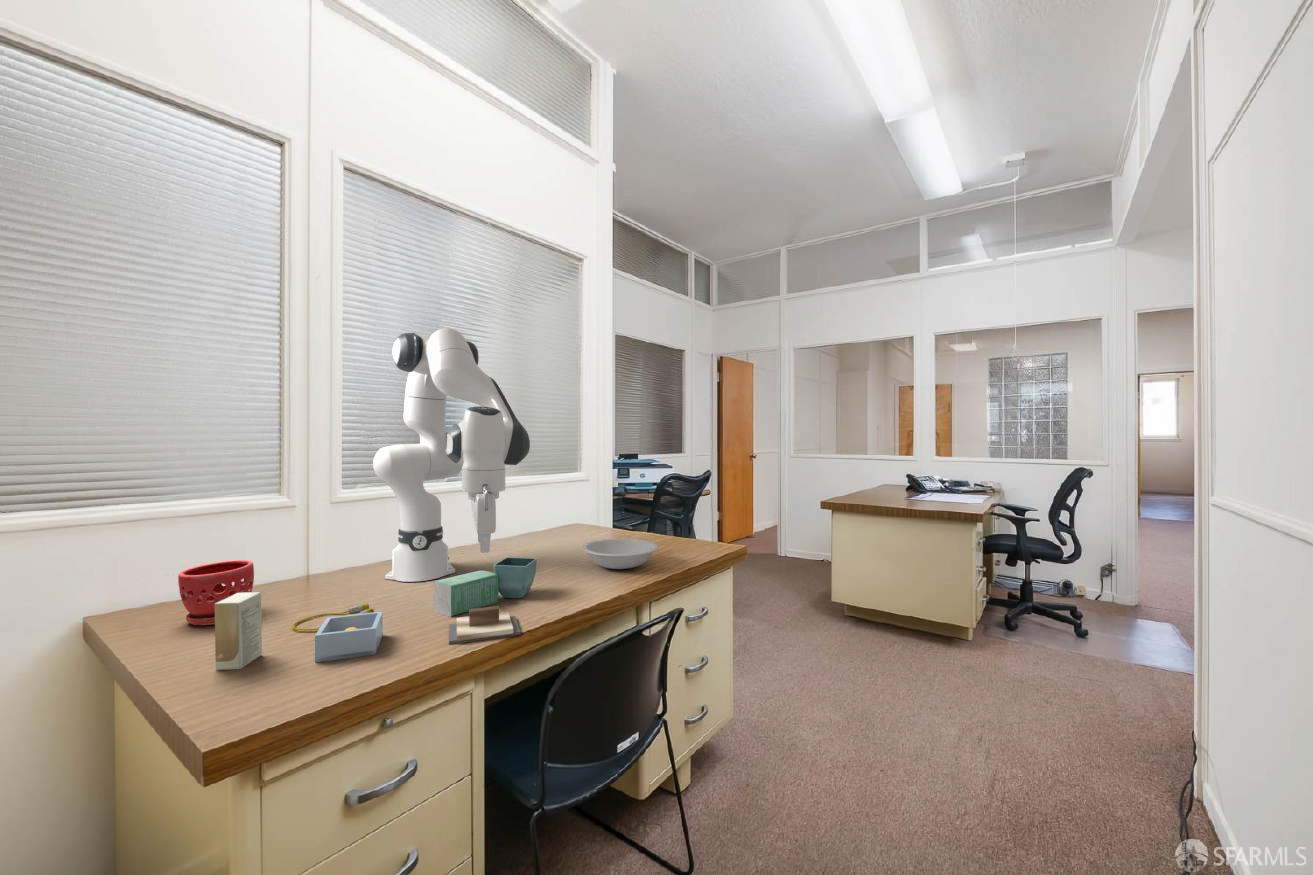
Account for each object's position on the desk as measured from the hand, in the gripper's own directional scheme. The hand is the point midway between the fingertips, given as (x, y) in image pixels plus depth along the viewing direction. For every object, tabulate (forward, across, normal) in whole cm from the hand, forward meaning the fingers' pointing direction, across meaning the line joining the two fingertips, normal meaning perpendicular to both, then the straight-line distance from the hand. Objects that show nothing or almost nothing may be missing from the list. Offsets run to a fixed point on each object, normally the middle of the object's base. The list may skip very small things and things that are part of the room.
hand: (483, 546), depth 112 cm
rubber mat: (+18, 0, 0) cm, 18 cm away
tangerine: (+16, 0, +25) cm, 29 cm away
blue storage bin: (+18, 0, +25) cm, 31 cm away
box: (+18, +18, +3) cm, 26 cm away
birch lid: (+17, 0, 0) cm, 17 cm away
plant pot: (+19, +29, +56) cm, 65 cm away
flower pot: (+18, +22, -9) cm, 30 cm away
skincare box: (+18, 0, +43) cm, 47 cm away
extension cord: (+19, +18, +31) cm, 40 cm away
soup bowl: (+18, +40, -43) cm, 62 cm away
